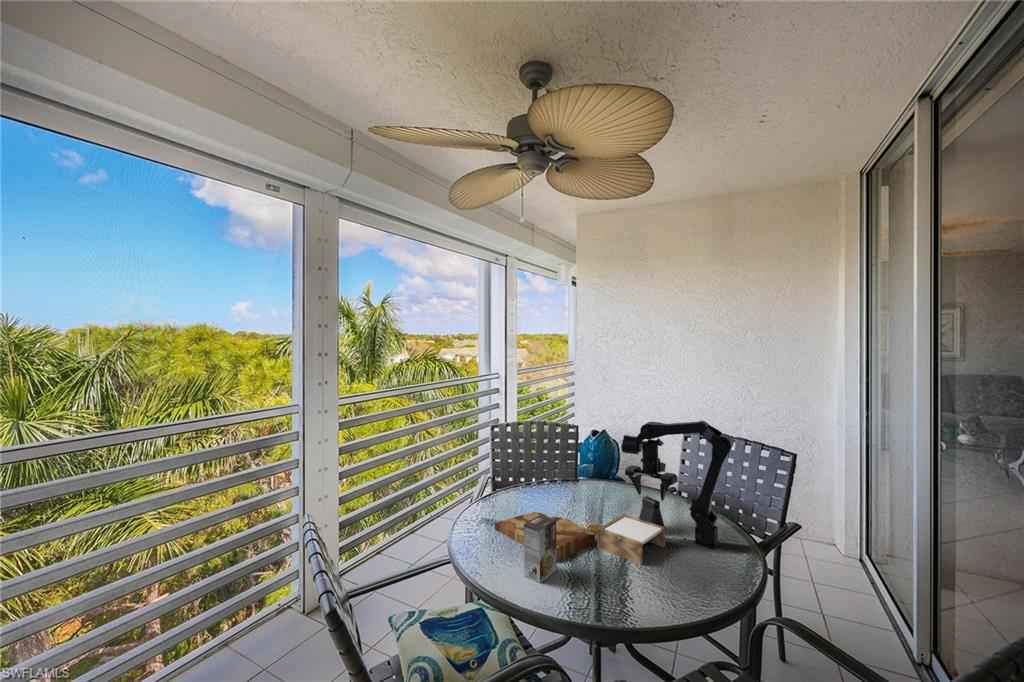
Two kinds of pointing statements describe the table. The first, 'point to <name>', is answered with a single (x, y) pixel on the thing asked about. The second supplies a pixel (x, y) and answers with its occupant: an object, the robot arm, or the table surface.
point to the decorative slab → (567, 533)
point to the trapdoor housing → (626, 541)
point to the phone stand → (651, 511)
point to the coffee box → (540, 548)
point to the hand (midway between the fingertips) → (650, 497)
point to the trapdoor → (634, 530)
